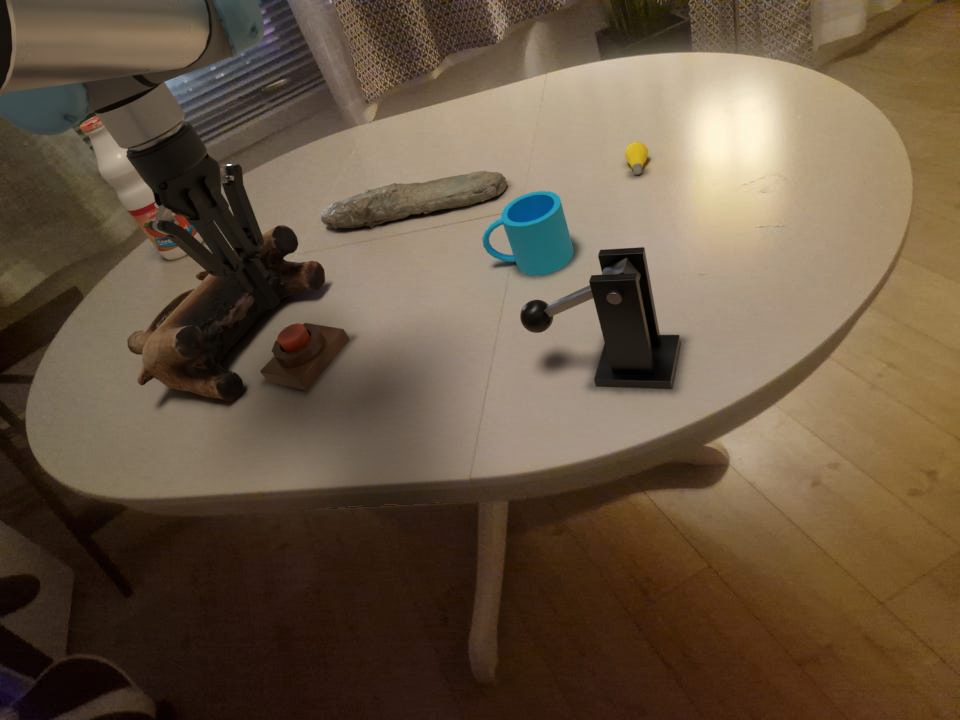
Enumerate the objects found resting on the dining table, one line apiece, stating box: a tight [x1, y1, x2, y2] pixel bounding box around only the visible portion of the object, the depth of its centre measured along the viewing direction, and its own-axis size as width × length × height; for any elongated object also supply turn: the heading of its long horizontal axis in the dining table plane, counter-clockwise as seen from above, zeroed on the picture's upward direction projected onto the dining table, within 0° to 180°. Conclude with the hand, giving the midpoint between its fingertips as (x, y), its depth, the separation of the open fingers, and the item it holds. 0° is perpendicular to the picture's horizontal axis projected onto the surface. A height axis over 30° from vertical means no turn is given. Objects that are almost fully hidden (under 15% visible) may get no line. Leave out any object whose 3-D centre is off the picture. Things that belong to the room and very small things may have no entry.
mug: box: [481, 190, 575, 277], centre depth 89 cm, size 12×8×8 cm
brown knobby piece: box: [126, 224, 326, 402], centre depth 99 cm, size 13×31×25 cm
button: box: [276, 322, 310, 353], centre depth 88 cm, size 4×4×2 cm
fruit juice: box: [79, 115, 204, 261], centre depth 125 cm, size 9×9×28 cm
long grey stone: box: [320, 170, 508, 230], centre depth 113 cm, size 35×5×10 cm
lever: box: [519, 258, 641, 334], centre depth 67 cm, size 14×4×4 cm, turn 70°
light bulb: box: [624, 141, 649, 176], centre depth 99 cm, size 3×6×4 cm, turn 170°
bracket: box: [588, 246, 681, 390], centre depth 66 cm, size 8×7×14 cm
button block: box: [260, 322, 351, 392], centre depth 89 cm, size 10×8×4 cm
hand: (270, 304), depth 84 cm, fingers closed
